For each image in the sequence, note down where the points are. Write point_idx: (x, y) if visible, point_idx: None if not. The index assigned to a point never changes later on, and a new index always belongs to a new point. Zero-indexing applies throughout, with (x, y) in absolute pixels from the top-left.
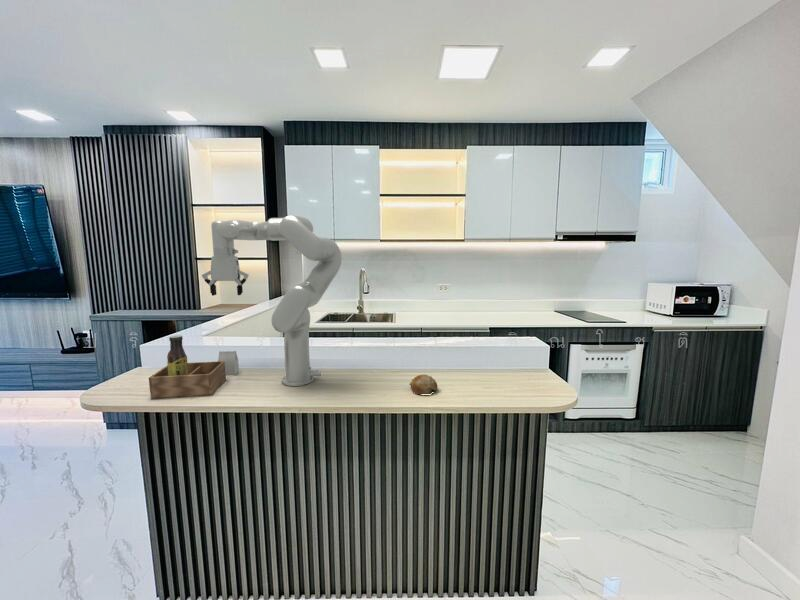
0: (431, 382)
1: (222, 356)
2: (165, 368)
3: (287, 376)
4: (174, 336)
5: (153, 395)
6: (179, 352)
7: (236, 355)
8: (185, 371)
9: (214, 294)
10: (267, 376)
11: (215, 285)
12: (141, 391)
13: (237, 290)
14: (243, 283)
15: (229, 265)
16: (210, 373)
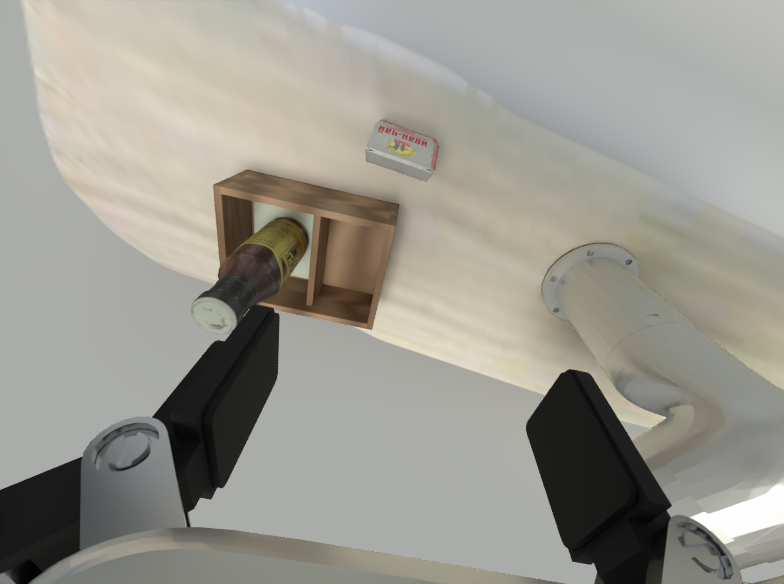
0: None
1: (380, 159)
2: (224, 231)
3: (561, 307)
4: (209, 317)
5: None
6: (259, 302)
7: (434, 160)
8: (294, 267)
9: (274, 366)
10: (518, 219)
11: (212, 429)
12: (196, 209)
13: (544, 480)
14: (717, 570)
15: None
16: (370, 322)
